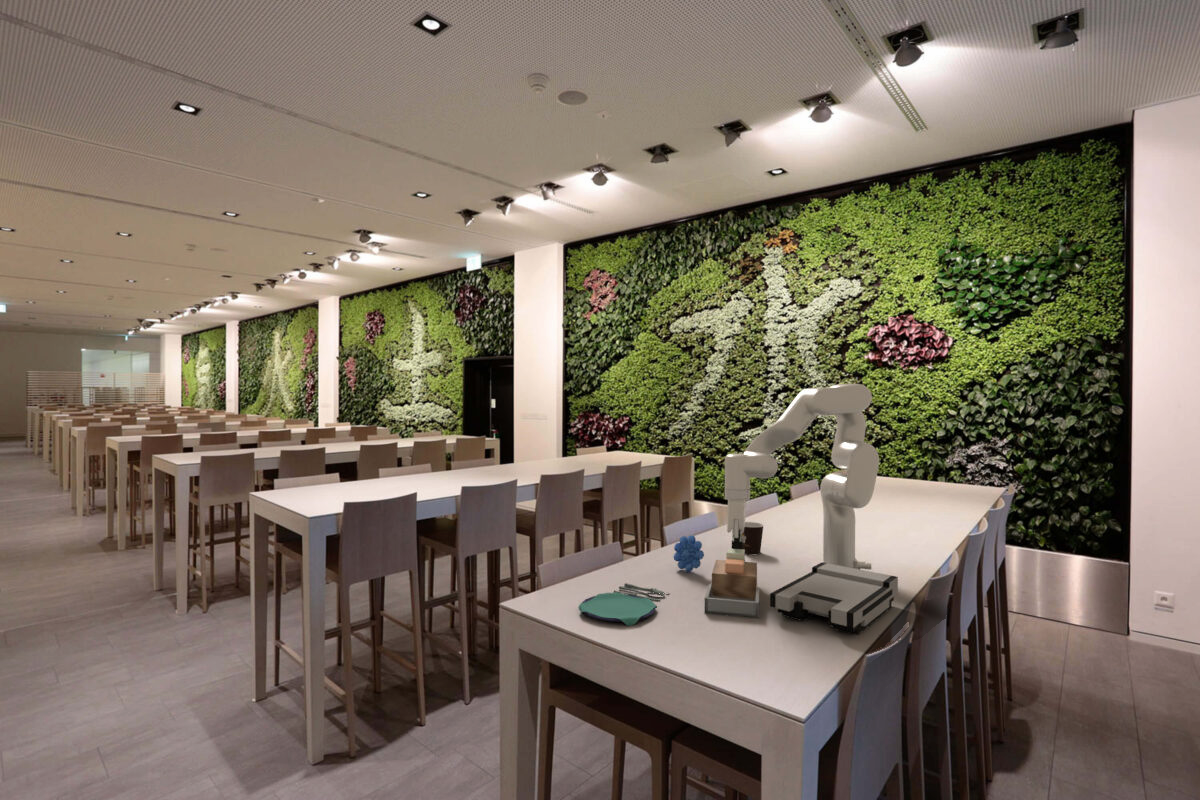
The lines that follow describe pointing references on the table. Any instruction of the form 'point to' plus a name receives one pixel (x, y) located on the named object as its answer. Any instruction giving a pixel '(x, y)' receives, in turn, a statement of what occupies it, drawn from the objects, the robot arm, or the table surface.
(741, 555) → the sage block
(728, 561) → the terracotta block
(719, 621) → the table surface
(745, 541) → the coffee mug
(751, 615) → the bin
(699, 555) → the grapes
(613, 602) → the cutlery set
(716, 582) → the brown box
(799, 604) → the game console
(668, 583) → the table surface
